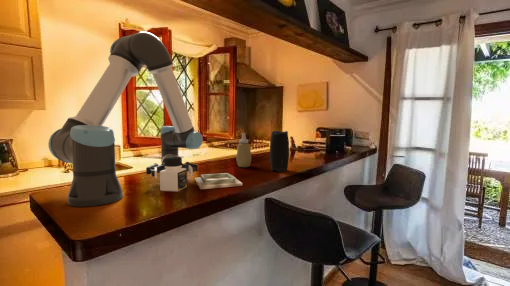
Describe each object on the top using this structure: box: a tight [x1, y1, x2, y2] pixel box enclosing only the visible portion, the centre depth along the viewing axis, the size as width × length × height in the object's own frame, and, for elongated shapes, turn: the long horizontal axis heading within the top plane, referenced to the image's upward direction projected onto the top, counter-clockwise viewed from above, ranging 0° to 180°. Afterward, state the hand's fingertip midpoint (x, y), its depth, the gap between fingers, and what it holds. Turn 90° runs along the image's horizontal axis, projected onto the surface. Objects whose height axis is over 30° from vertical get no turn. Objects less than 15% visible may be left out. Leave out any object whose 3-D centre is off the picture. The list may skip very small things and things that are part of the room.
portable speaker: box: [269, 130, 290, 173], centre depth 135 cm, size 9×9×20 cm
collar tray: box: [194, 172, 243, 190], centre depth 111 cm, size 16×16×2 cm
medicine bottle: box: [159, 155, 188, 192], centre depth 101 cm, size 7×7×12 cm
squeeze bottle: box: [236, 132, 252, 168], centre depth 147 cm, size 8×8×18 cm
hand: (174, 173), depth 97 cm, fingers open, 11 cm apart
